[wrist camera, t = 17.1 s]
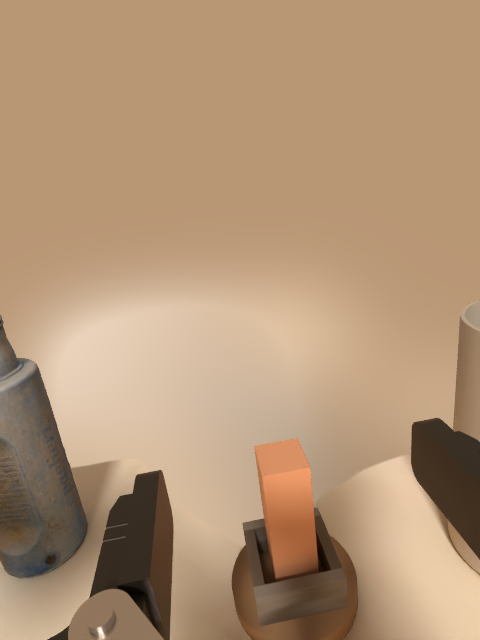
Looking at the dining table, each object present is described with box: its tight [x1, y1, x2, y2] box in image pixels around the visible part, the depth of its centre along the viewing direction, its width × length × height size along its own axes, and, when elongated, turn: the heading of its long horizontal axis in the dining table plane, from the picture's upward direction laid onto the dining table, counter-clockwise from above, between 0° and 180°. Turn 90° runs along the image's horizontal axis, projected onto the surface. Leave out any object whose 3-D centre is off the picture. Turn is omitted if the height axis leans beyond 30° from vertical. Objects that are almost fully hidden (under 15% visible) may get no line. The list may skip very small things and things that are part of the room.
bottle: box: [0, 315, 87, 578], centre depth 44 cm, size 10×10×30 cm
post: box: [255, 439, 319, 582], centre depth 36 cm, size 4×4×14 cm
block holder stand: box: [232, 508, 358, 640], centre depth 38 cm, size 12×12×6 cm
